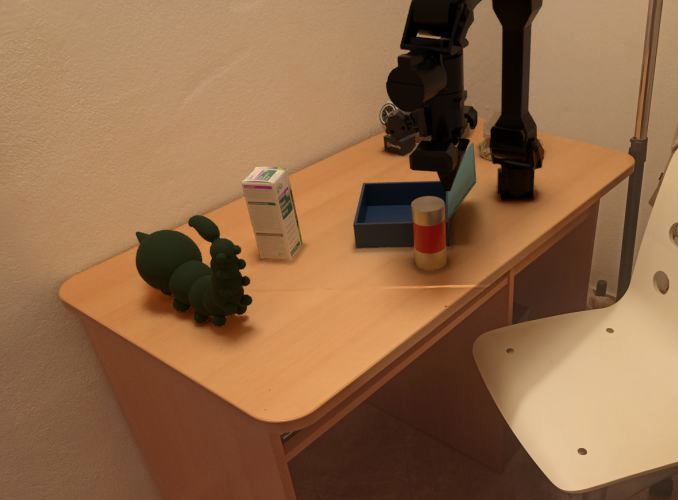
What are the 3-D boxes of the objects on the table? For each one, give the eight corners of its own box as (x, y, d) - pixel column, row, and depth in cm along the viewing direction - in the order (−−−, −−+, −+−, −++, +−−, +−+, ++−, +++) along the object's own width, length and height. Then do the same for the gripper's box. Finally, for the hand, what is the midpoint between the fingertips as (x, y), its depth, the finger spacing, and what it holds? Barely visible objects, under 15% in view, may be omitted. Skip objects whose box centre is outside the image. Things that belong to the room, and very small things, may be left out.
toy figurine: (274, 326, 103) (174, 263, 114) (256, 218, 90) (145, 159, 101) (223, 358, 97) (123, 288, 108) (196, 247, 85) (86, 181, 96)
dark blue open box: (449, 204, 129) (448, 180, 125) (449, 248, 116) (448, 222, 113) (365, 207, 129) (362, 182, 126) (356, 250, 117) (353, 224, 113)
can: (446, 255, 114) (444, 195, 107) (446, 272, 110) (444, 211, 103) (416, 256, 114) (411, 196, 108) (414, 272, 110) (410, 211, 103)
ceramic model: (472, 160, 144) (472, 114, 138) (482, 140, 152) (482, 95, 146) (539, 164, 141) (541, 117, 135) (544, 143, 150) (547, 98, 143)
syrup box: (291, 262, 114) (275, 182, 105) (259, 259, 115) (240, 180, 106) (303, 245, 119) (288, 167, 109) (272, 242, 120) (254, 165, 111)
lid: (447, 176, 125) (449, 177, 125) (447, 217, 112) (449, 219, 113) (472, 142, 121) (473, 143, 121) (474, 181, 108) (476, 182, 108)
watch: (378, 152, 149) (373, 102, 142) (402, 141, 154) (399, 92, 147) (397, 158, 146) (393, 108, 139) (421, 146, 151) (418, 96, 144)
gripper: (406, 65, 103) (413, 162, 113) (368, 109, 89) (379, 214, 99) (477, 67, 101) (478, 166, 111) (450, 113, 87) (453, 221, 97)
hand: (447, 190), depth 105 cm, fingers closed
